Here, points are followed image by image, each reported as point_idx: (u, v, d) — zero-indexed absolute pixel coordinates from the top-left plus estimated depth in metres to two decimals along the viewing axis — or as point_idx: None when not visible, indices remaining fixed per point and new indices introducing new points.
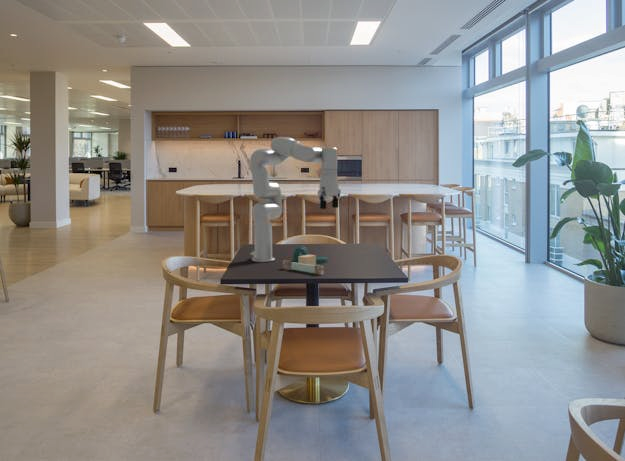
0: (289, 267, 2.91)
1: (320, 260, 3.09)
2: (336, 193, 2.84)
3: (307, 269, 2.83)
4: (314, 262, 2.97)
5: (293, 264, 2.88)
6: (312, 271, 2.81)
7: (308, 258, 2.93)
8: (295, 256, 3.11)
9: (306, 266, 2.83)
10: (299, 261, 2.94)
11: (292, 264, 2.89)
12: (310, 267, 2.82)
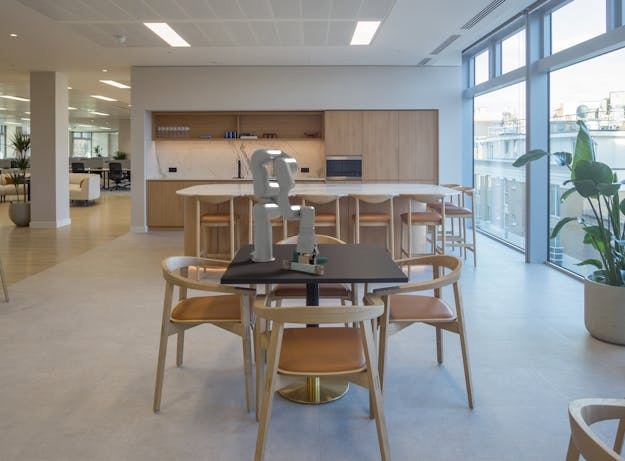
0: (289, 267, 2.91)
1: (320, 260, 3.09)
2: None
3: (307, 269, 2.83)
4: (314, 262, 2.97)
5: (293, 264, 2.88)
6: (312, 271, 2.81)
7: (308, 258, 2.93)
8: (295, 256, 3.10)
9: (306, 266, 2.83)
10: (299, 261, 2.94)
11: (292, 264, 2.89)
12: (310, 267, 2.82)
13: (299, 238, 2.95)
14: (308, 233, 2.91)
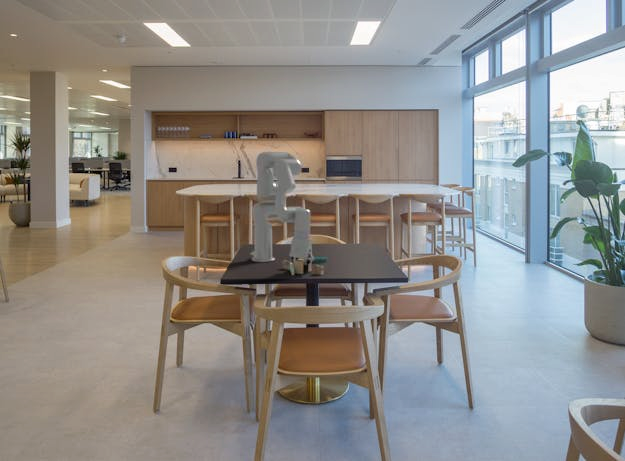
0: (289, 267, 2.91)
1: (320, 260, 3.09)
2: None
3: (291, 270, 2.79)
4: (310, 266, 2.84)
5: None
6: (291, 273, 2.76)
7: None
8: None
9: (291, 267, 2.80)
10: (294, 265, 2.81)
11: None
12: (291, 269, 2.77)
13: (293, 242, 2.81)
14: (303, 237, 2.77)
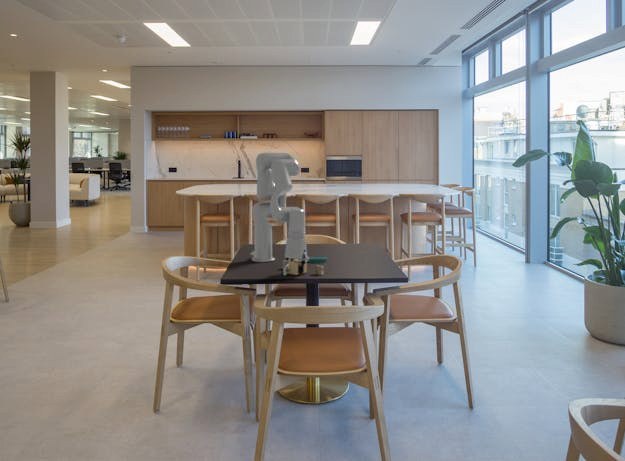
0: None
1: (319, 260, 3.09)
2: None
3: None
4: (305, 267, 2.80)
5: None
6: None
7: None
8: None
9: None
10: (289, 266, 2.77)
11: None
12: None
13: (287, 243, 2.77)
14: (297, 238, 2.73)
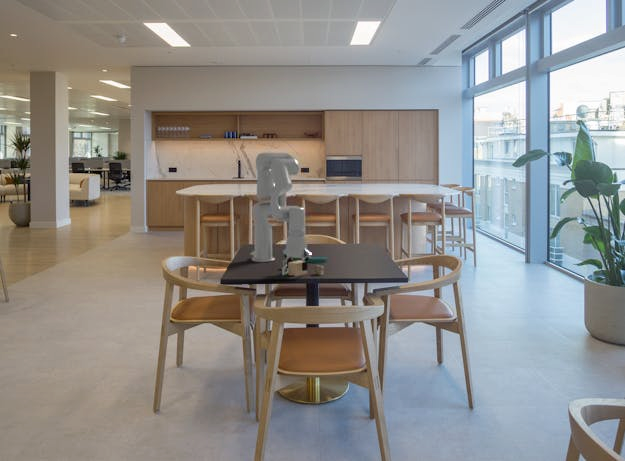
0: None
1: (319, 260, 3.09)
2: None
3: None
4: None
5: None
6: None
7: (298, 264, 2.76)
8: None
9: None
10: (289, 267, 2.77)
11: None
12: None
13: (288, 242, 2.76)
14: (298, 236, 2.72)
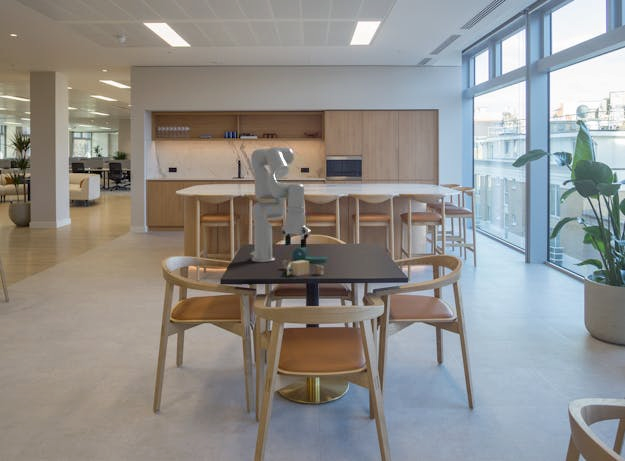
0: None
1: (319, 260, 3.09)
2: None
3: None
4: (307, 268, 2.80)
5: None
6: (287, 273, 2.76)
7: (300, 264, 2.76)
8: (294, 256, 3.11)
9: None
10: (291, 267, 2.78)
11: None
12: None
13: (286, 218, 2.75)
14: (296, 213, 2.71)
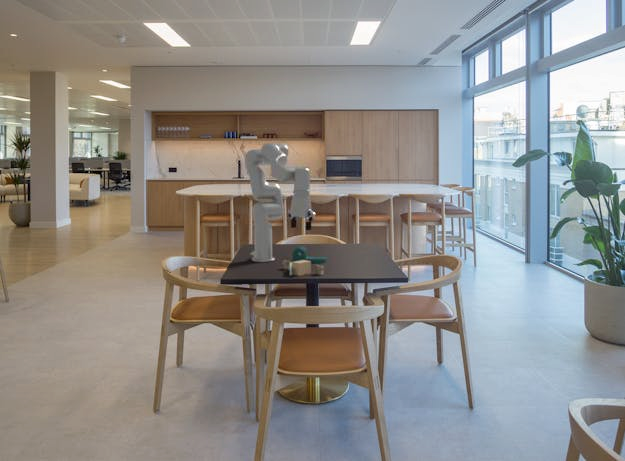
0: (289, 267, 2.91)
1: (319, 260, 3.09)
2: None
3: None
4: (309, 268, 2.80)
5: None
6: None
7: (302, 264, 2.76)
8: (294, 256, 3.11)
9: None
10: (292, 267, 2.78)
11: None
12: None
13: (292, 202, 2.82)
14: (302, 196, 2.78)
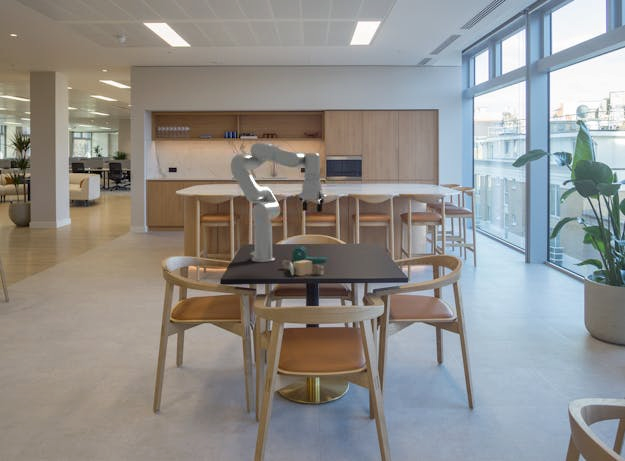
0: (289, 267, 2.91)
1: (319, 260, 3.09)
2: None
3: None
4: (310, 268, 2.80)
5: None
6: (291, 273, 2.76)
7: (303, 264, 2.77)
8: (294, 256, 3.11)
9: (290, 267, 2.80)
10: (294, 267, 2.78)
11: None
12: None
13: (304, 185, 2.96)
14: (313, 179, 2.92)
